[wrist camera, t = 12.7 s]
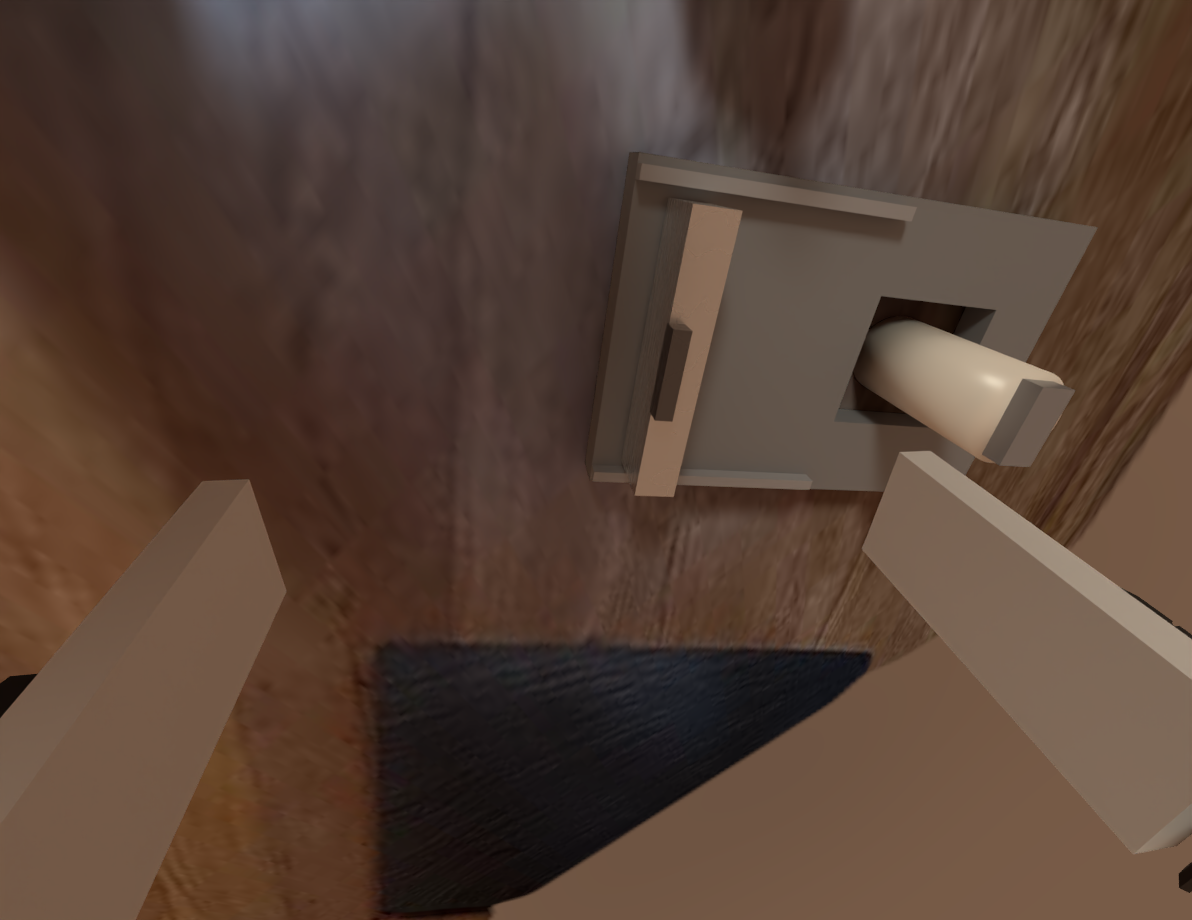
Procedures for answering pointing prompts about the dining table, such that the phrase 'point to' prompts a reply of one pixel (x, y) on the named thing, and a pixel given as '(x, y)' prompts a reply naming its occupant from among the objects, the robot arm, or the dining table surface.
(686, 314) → the lock bar
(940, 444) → the housing plate
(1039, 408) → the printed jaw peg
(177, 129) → the dining table surface
